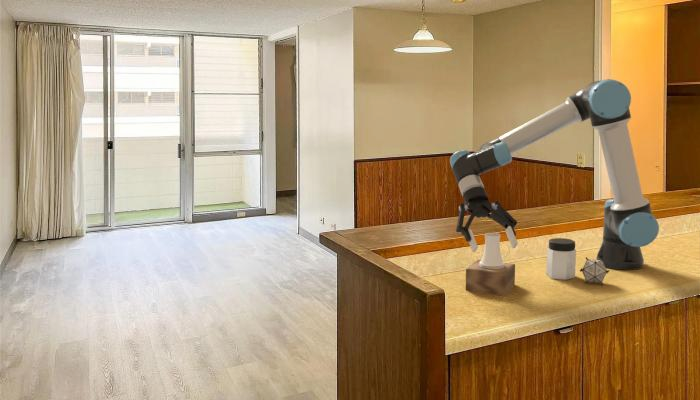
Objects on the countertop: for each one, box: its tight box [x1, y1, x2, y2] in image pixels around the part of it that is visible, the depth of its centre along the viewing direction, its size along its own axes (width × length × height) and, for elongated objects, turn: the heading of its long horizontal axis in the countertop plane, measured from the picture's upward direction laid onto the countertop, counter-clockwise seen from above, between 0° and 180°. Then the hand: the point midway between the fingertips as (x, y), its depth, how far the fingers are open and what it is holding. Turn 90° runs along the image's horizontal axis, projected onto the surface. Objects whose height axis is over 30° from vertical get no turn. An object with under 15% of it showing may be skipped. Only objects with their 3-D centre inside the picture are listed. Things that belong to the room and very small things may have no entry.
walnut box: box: [465, 259, 516, 297], centre depth 185 cm, size 12×12×7 cm
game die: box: [579, 256, 610, 286], centre depth 188 cm, size 9×8×10 cm
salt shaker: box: [480, 232, 506, 269], centre depth 184 cm, size 8×8×10 cm
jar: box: [545, 237, 577, 281], centre depth 195 cm, size 9×8×12 cm
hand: (495, 247), depth 182 cm, fingers open, 13 cm apart
